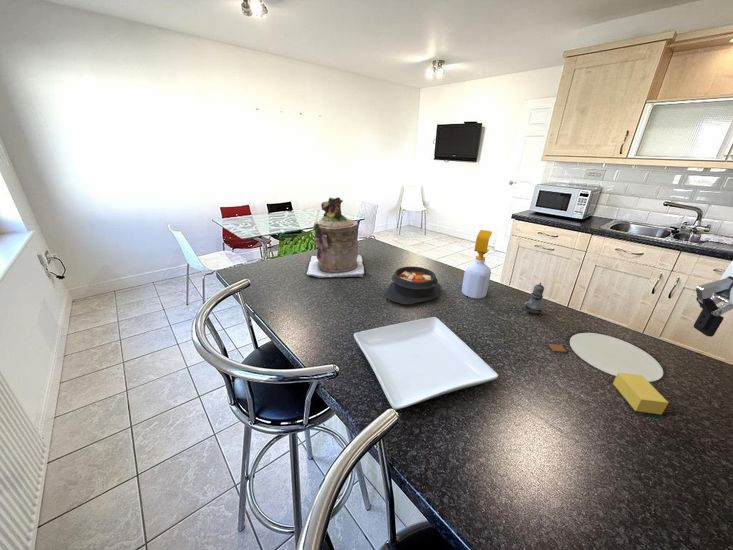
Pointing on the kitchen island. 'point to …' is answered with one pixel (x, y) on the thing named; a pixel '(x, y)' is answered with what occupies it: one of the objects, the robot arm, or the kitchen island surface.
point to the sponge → (640, 394)
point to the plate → (615, 356)
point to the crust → (557, 348)
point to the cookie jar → (335, 244)
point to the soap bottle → (478, 269)
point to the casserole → (413, 285)
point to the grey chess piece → (535, 301)
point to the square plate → (421, 361)
